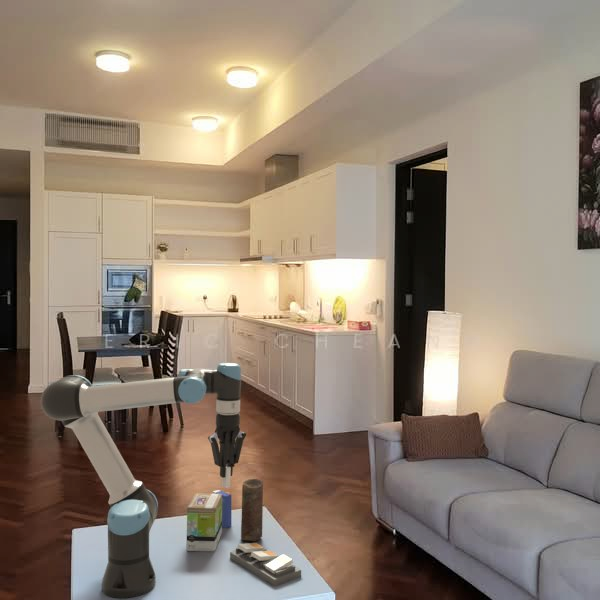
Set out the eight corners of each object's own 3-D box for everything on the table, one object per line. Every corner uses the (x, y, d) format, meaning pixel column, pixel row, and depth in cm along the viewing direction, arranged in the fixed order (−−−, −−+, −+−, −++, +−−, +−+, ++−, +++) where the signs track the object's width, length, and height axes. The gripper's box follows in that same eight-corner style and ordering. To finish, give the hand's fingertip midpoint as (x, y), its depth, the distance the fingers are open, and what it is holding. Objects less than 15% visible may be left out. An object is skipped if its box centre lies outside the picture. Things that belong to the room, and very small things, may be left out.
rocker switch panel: (274, 586, 185) (274, 575, 185) (230, 558, 203) (230, 548, 203) (301, 576, 191) (301, 565, 191) (255, 549, 210) (255, 540, 210)
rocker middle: (259, 560, 193) (260, 556, 193) (250, 555, 197) (251, 551, 197) (277, 559, 197) (278, 555, 197) (268, 554, 201) (269, 550, 201)
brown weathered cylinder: (265, 536, 221) (265, 479, 220) (258, 544, 214) (258, 486, 213) (245, 533, 223) (245, 477, 222) (237, 542, 216) (237, 484, 215)
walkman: (231, 526, 230) (231, 493, 230) (225, 528, 228) (225, 495, 228) (218, 520, 236) (218, 488, 235) (212, 522, 234) (212, 490, 233)
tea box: (216, 552, 208) (215, 507, 208) (185, 551, 208) (185, 507, 208) (222, 533, 223) (222, 492, 223) (194, 533, 223) (194, 492, 223)
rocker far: (245, 552, 199) (246, 548, 199) (237, 547, 202) (238, 543, 203) (263, 551, 203) (264, 547, 203) (255, 546, 207) (255, 542, 207)
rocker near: (274, 574, 187) (274, 570, 187) (265, 568, 191) (264, 564, 191) (292, 562, 192) (292, 559, 191) (283, 557, 195) (283, 553, 195)
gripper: (216, 417, 192) (214, 493, 193) (251, 412, 200) (249, 486, 201) (204, 412, 198) (201, 487, 199) (239, 408, 206) (236, 480, 207)
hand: (225, 486), depth 200 cm, fingers closed
